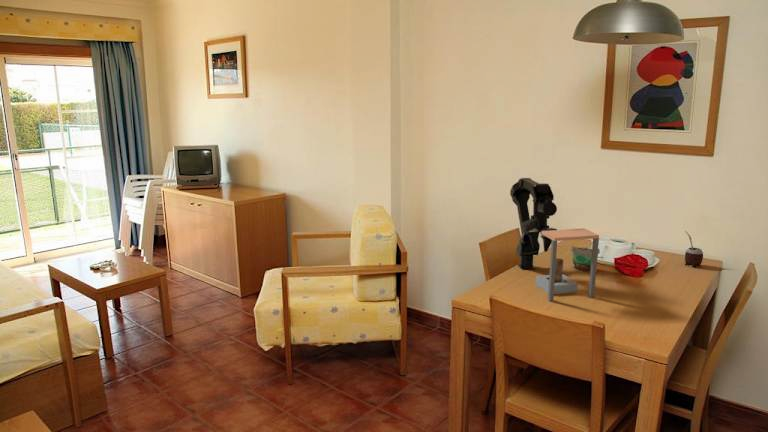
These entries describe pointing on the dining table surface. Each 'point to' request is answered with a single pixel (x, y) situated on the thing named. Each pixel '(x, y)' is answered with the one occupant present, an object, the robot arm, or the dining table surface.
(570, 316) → the dining table surface
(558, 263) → the peg
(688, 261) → the mate gourd
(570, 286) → the small table
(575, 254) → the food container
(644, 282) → the dining table surface
